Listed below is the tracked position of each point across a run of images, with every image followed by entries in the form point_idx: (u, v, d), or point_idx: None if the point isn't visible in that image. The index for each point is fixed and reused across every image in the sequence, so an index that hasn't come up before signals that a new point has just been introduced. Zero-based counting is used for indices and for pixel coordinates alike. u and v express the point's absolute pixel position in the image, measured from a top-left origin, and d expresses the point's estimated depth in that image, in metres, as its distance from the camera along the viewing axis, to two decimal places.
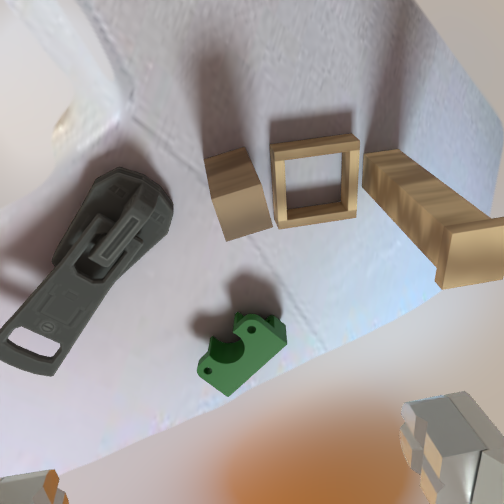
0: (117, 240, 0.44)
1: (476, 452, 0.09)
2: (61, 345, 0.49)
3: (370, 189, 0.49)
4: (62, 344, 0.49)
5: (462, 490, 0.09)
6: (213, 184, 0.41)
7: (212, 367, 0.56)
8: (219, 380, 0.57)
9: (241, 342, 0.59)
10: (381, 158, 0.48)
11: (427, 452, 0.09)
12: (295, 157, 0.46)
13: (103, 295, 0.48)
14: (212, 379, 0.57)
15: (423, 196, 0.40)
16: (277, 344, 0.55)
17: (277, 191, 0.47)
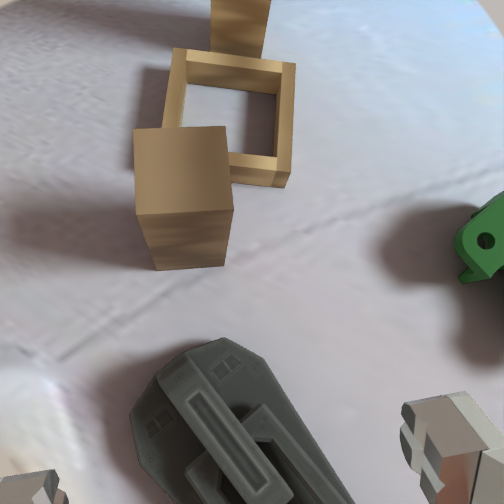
0: (230, 446, 0.22)
1: (476, 452, 0.09)
2: None
3: (253, 41, 0.33)
4: None
5: (462, 490, 0.09)
6: None
7: None
8: None
9: None
10: None
11: (428, 453, 0.09)
12: None
13: None
14: None
15: None
16: None
17: None
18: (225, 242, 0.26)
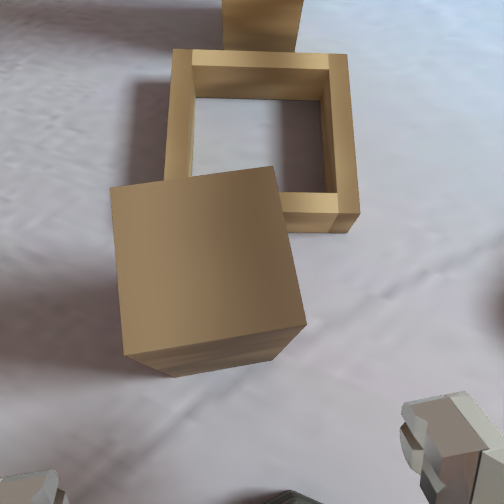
0: None
1: (476, 452, 0.09)
2: None
3: (284, 29, 0.24)
4: None
5: (462, 490, 0.09)
6: None
7: None
8: None
9: None
10: None
11: (428, 452, 0.09)
12: (183, 167, 0.21)
13: None
14: None
15: None
16: None
17: None
18: (280, 348, 0.16)
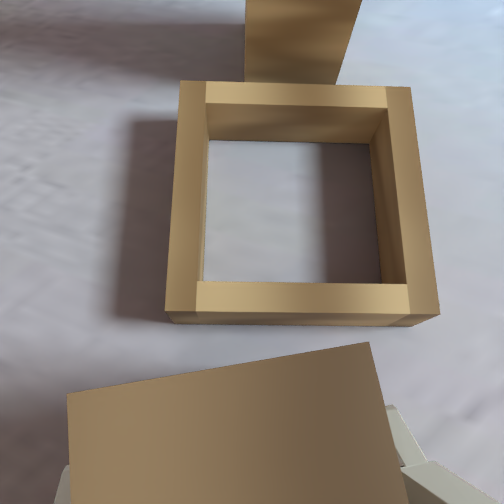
0: None
1: None
2: None
3: (326, 54, 0.18)
4: None
5: None
6: None
7: None
8: None
9: None
10: (245, 34, 0.18)
11: None
12: (194, 247, 0.15)
13: None
14: None
15: None
16: None
17: (299, 309, 0.15)
18: None
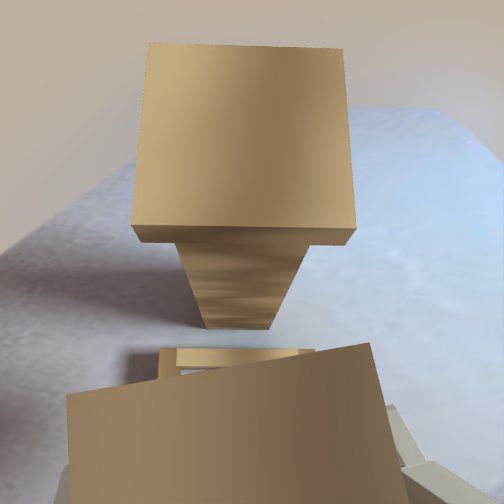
0: None
1: None
2: None
3: (259, 323, 0.26)
4: None
5: None
6: None
7: None
8: None
9: None
10: None
11: None
12: None
13: None
14: None
15: None
16: None
17: None
18: None
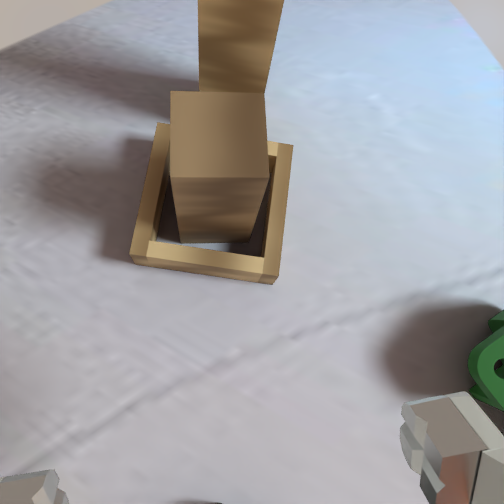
0: None
1: (476, 452, 0.09)
2: None
3: None
4: None
5: (462, 490, 0.09)
6: None
7: None
8: None
9: None
10: None
11: (427, 452, 0.09)
12: (150, 222, 0.27)
13: None
14: None
15: None
16: None
17: (202, 263, 0.27)
18: (254, 215, 0.25)
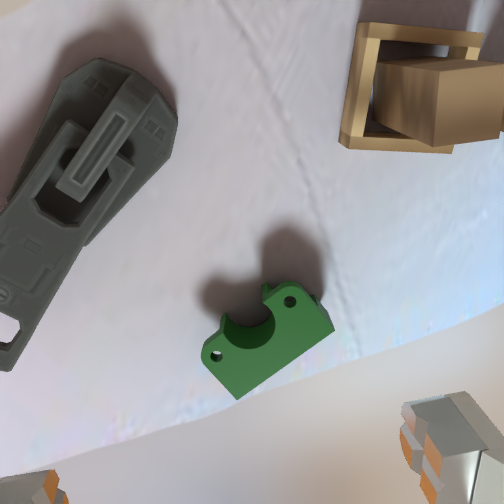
0: (95, 153, 0.30)
1: (476, 452, 0.09)
2: (21, 323, 0.34)
3: None
4: (22, 322, 0.34)
5: (462, 490, 0.09)
6: (422, 67, 0.29)
7: (224, 351, 0.40)
8: (230, 372, 0.40)
9: (264, 326, 0.43)
10: None
11: (428, 453, 0.09)
12: (396, 38, 0.32)
13: (79, 246, 0.33)
14: (220, 370, 0.40)
15: None
16: (321, 329, 0.39)
17: (360, 87, 0.33)
18: (399, 130, 0.33)
